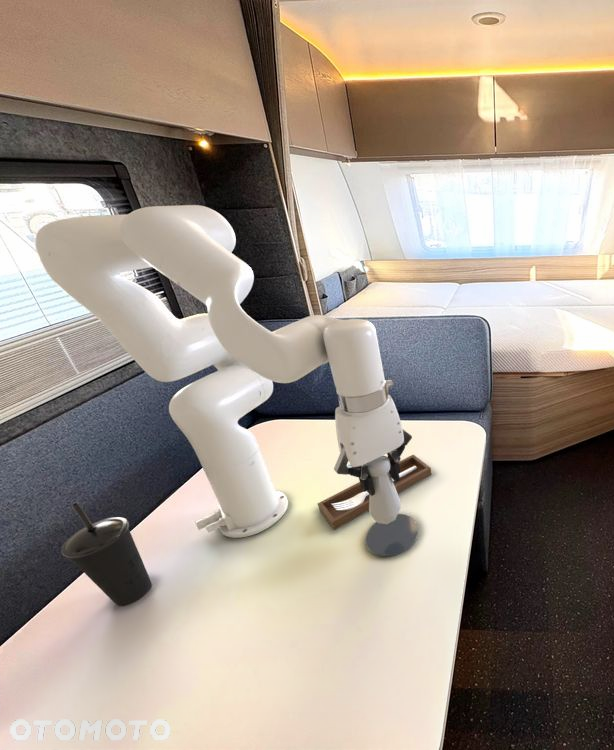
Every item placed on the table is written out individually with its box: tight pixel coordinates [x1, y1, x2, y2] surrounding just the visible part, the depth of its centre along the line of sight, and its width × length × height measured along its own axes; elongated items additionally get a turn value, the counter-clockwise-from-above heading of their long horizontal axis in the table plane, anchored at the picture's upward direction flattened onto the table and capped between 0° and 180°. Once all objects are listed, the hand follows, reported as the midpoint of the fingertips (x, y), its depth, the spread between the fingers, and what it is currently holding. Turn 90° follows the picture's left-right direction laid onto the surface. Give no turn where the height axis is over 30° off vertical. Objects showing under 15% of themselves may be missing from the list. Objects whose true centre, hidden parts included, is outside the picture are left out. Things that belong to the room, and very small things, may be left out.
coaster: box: [365, 513, 420, 558], centre depth 75 cm, size 10×10×1 cm
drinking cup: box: [60, 502, 153, 607], centre depth 62 cm, size 8×8×20 cm
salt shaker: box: [368, 455, 402, 524], centre depth 70 cm, size 6×6×13 cm
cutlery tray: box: [317, 453, 432, 531], centre depth 86 cm, size 24×8×2 cm, turn 134°
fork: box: [332, 466, 417, 510], centre depth 86 cm, size 3×20×2 cm, turn 134°
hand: (382, 483), depth 70 cm, fingers closed on salt shaker, 4 cm apart
